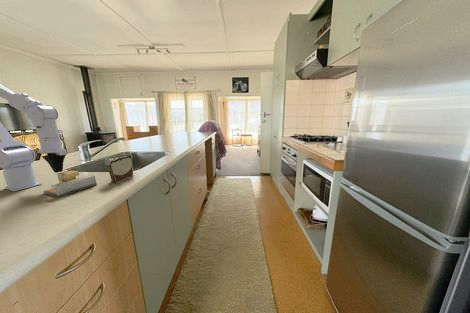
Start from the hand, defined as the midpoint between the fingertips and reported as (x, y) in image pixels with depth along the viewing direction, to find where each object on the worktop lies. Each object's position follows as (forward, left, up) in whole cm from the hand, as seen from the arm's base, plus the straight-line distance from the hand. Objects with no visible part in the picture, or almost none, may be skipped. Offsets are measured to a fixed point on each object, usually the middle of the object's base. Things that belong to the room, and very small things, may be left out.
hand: (58, 171), depth 72 cm
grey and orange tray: (+9, -1, -6) cm, 11 cm away
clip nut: (+7, 0, -5) cm, 8 cm away
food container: (+16, +13, -6) cm, 21 cm away
